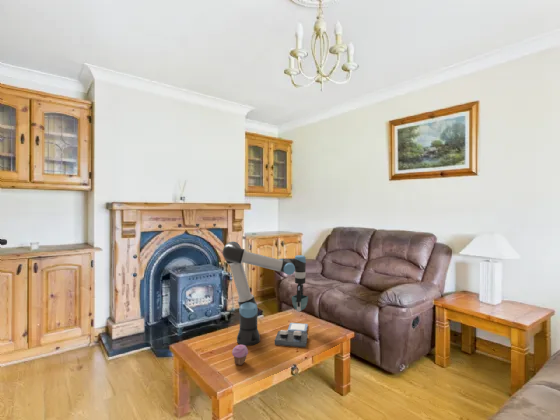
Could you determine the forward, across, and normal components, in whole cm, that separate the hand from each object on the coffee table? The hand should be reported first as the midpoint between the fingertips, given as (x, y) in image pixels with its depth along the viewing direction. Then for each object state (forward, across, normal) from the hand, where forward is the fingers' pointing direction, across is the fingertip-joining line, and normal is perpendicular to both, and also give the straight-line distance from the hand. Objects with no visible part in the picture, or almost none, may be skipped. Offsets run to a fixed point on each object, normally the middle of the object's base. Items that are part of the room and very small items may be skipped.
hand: (299, 308), depth 217 cm
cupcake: (+16, -51, +27) cm, 60 cm away
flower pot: (+1, 0, 0) cm, 1 cm away
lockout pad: (+16, +2, +1) cm, 16 cm away
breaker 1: (+10, -19, +8) cm, 23 cm away
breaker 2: (+10, -18, -1) cm, 21 cm away
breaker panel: (+16, -19, +3) cm, 24 cm away
